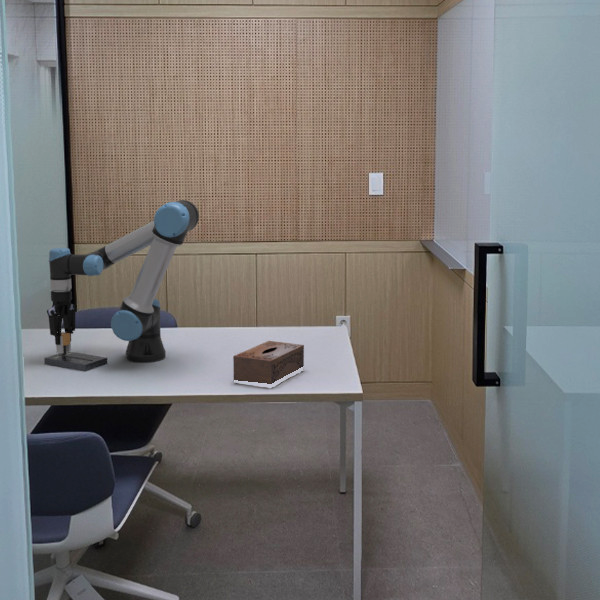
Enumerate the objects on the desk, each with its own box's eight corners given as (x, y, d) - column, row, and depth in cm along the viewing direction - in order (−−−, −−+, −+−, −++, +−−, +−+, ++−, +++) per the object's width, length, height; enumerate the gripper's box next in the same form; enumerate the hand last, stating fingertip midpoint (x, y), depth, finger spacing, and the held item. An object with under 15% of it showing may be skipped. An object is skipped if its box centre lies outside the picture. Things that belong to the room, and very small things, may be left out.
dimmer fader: (70, 354, 337) (70, 333, 336) (64, 356, 334) (64, 335, 333) (62, 353, 339) (62, 332, 337) (56, 355, 336) (55, 333, 335)
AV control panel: (107, 364, 335) (107, 357, 334) (85, 371, 324) (85, 364, 324) (67, 357, 344) (66, 350, 344) (44, 364, 334) (44, 357, 333)
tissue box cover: (270, 389, 304) (270, 360, 303) (233, 384, 311) (233, 356, 309) (303, 371, 327) (303, 345, 325) (268, 367, 333) (268, 340, 332)
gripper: (68, 285, 341) (71, 346, 345) (37, 292, 327) (40, 355, 331) (84, 287, 337) (86, 348, 342) (52, 294, 323) (55, 357, 328)
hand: (63, 351), depth 336 cm, fingers closed on dimmer fader, 3 cm apart
